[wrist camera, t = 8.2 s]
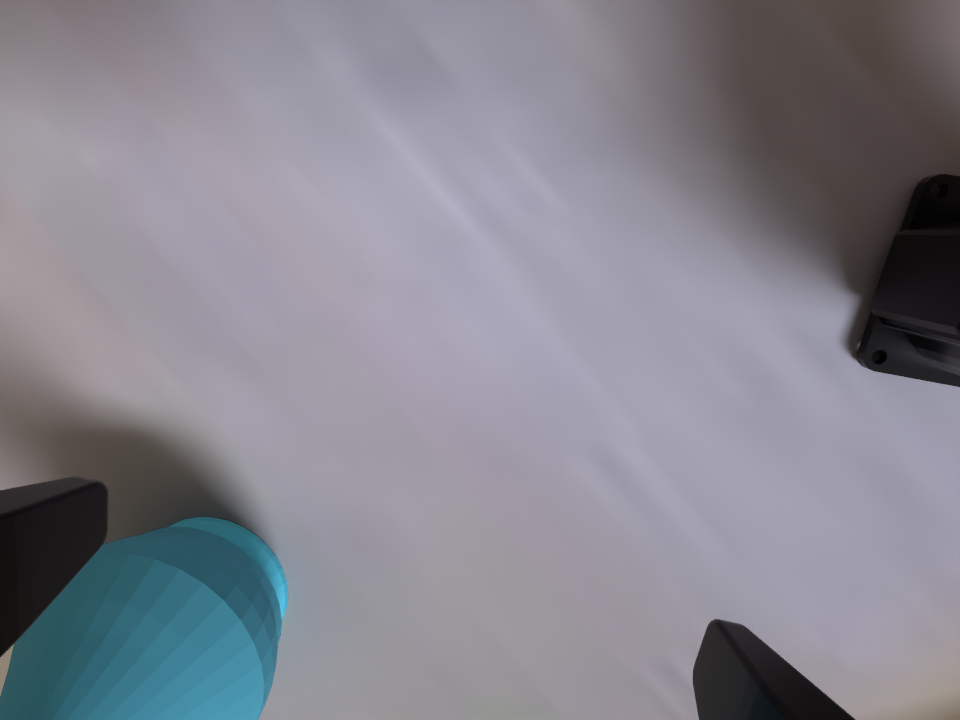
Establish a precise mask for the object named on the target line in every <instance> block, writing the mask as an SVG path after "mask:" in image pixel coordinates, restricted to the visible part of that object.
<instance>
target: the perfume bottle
mask: <svg viewBox="0 0 960 720" xmlns="http://www.w3.org/2000/svg"><path fill="white" fill-rule="evenodd" d="M287 600H288V589H287V581H286V578H285V575H284V572H283V569H282V567H281V565H280V563H279V561H278V560H277V558H276V556H275V555H274V553H273V552H272V551H271V550H270V549H269V547H268V546H267V545H266V544H265V543H264V542H263V541H262V540H261V539H259V538H258V537H257V536H256V535H255V534H253V533H252V532H250V531H249V530H247V529H245V528H244V527H242V526H240V525H237V524H235V523H232V522H230V521H227V520H223V519H218V518H214V517H195V518H189V519H184V520H182V521H179V522H177V523H174V524H172V525H171V526H169V527H167V528H161V529H155V530H153V531H150V532H148V533H145V534H143V535H138V536H132V537H126V538H123V539H119V540H116V541H113V542H110V543H107V544H104V545H102V546H101V548H100V549H99V550H98V551H97V552H96V554H95V555H94V556H93V557H92V558H91V559H90V560H89V561H88V563H87V564H86V565H85V566H84V567H83V568H82V569H81V570H80V572H79V573H78V574H77V575H76V576H75V577H74V578H73V579H72V581H71V582H70V583H69V584H68V585H67V586H66V587H65V588H64V590H63V591H62V592H61V593H60V594H59V595H58V596H57V597H56V599H55V600H54V601H53V602H52V603H51V604H50V605H49V606H48V607H47V609H46V610H45V611H44V612H43V613H42V614H41V615H40V616H39V618H38V619H37V620H36V621H35V622H34V623H33V624H32V625H31V626H30V627H29V629H28V630H27V631H26V632H25V633H24V634H23V635H22V636H21V637H20V638H19V639H18V640H17V641H16V642H15V643H14V646H13V651H12V655H11V660H10V664H9V669H8V673H7V676H6V679H5V683H4V686H3V690H2V693H1V696H0V720H258V719H259V717H260V714H261V712H262V710H263V708H264V705H265V703H266V700H267V698H268V695H269V692H270V689H271V686H272V682H273V677H274V672H275V667H276V660H277V649H278V641H279V638H280V635H281V624H282V619H283V616H284V614H285V611H286V608H287Z"/></svg>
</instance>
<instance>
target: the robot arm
mask: <svg viewBox="0 0 960 720" xmlns="http://www.w3.org/2000/svg"><path fill="white" fill-rule="evenodd" d="M935 184H936V185H938V187H939V194H938V195H937V197H936V198H933V196H932V195H931V189H932V188H933V186H934V185H935ZM870 308H871V310H872V312H871V315H870V318H869V321H868V324H867V326H866V329H865V332H864V335H863V338H862V341H861V343H860V346H859V349H858V352H857V360H858V362H859V364H860V365H861V366H863V367H865V368H868V369H870V370H873V371H877V372H882V373H887V374H893V375H898V376H904V377H909V378H915V379H920V380H925V381H931V382H936V383H942V384H947V385H952V386H958V387H960V177H959V176H953V175H947V174H940V175H932V176H928V177H926V178H924V179H922V180H921V181H920V182H919V183H918V185H917V186H916V188H915V190H914V193H913V196H912V199H911V202H910V205H909V207H908V210H907V213H906V216H905V219H904V222H903V224H902V227H901V230H900V233H899V234H897V235H896V236H895V237H894V240H893V242H892V245H891V248H890V251H889V254H888V257H887V259H886V262H885V265H884V268H883V271H882V274H881V277H880V279H879V282H878V285H877V288H876V291H875V294H874V296H873V299H872V302H871V305H870ZM877 350H879V351H880V356H879V358H878V359H877V360H875V361H873V362H872V360H871V356H872V354H873V353H874V352H875V351H877ZM107 531H108V489H107V486H106V485H105V484H104V483H103V482H101V481H96V480H92V479H87V478H83V477H70V478H64V479H59V480H54V481H48V482H43V483H38V484H32V485H27V486H22V487H17V488H11V489H6V490H1V491H0V657H1V656H2V655H3V654H4V653H5V652H6V651H7V650H8V649H9V648H10V647H11V646H12V645H13V644H14V643H15V642H16V641H17V640H18V639H19V638H20V637H21V636H22V635H23V634H24V633H25V632H26V631H27V630H28V629H29V627H30V626H31V625H32V624H33V623H34V622H35V621H36V620H37V619H38V618H39V616H40V615H41V614H42V613H43V612H44V611H45V610H46V609H47V607H48V606H49V605H50V604H51V603H52V602H53V601H54V600H55V599H56V597H57V596H58V595H59V594H60V593H61V592H62V591H63V590H64V588H65V587H66V586H67V585H68V584H69V583H70V582H71V581H72V579H73V578H74V577H75V576H76V575H77V574H78V573H79V572H80V570H81V569H82V568H83V567H84V566H85V565H86V564H87V563H88V561H89V560H90V559H91V558H92V557H93V556H94V555H95V554H96V552H97V551H98V550H99V549H100V548H101V546H102V544H103V543H104V541H105V538H106V535H107ZM693 687H694V692H695V698H696V704H697V710H698V716H699V720H855V719H854V718H853V717H852V716H851V715H849V714H848V713H847V712H846V711H845V710H844V709H842V708H841V707H840V706H839V705H838V704H836V703H835V702H834V701H833V700H832V699H830V698H829V697H828V696H827V695H826V694H825V693H823V692H822V691H821V690H820V689H819V688H817V687H816V686H815V685H814V684H813V683H812V682H810V681H809V680H808V679H807V678H806V677H804V676H803V675H802V674H801V673H800V672H798V671H797V670H796V669H795V668H794V667H793V666H791V665H790V664H789V663H788V662H787V661H785V660H784V659H783V658H782V657H781V656H780V655H778V654H777V653H776V652H775V651H774V650H772V649H771V648H770V647H769V646H768V645H766V644H765V643H764V642H763V641H762V640H761V639H759V638H758V637H757V636H756V635H755V634H753V633H752V632H751V631H750V630H749V629H748V628H746V627H745V626H743V625H741V624H738V623H733V622H729V621H724V620H719V619H715V620H713V621H711V622H710V623H709V625H708V627H707V629H706V632H705V635H704V638H703V641H702V644H701V647H700V650H699V653H698V655H697V658H696V661H695V665H694V669H693Z"/></svg>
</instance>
